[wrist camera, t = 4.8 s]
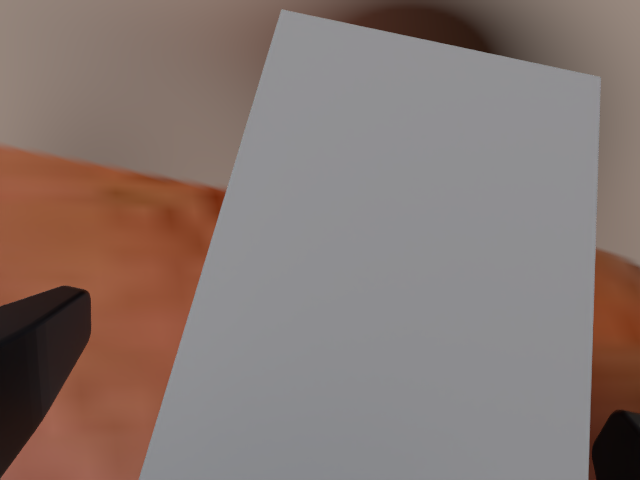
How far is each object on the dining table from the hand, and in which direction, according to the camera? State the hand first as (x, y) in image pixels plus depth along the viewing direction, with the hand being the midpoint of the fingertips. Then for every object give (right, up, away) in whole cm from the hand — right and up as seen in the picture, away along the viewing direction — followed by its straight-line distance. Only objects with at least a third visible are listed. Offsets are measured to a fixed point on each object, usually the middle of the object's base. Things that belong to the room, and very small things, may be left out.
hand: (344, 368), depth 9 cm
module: (0, -2, +8) cm, 8 cm away
